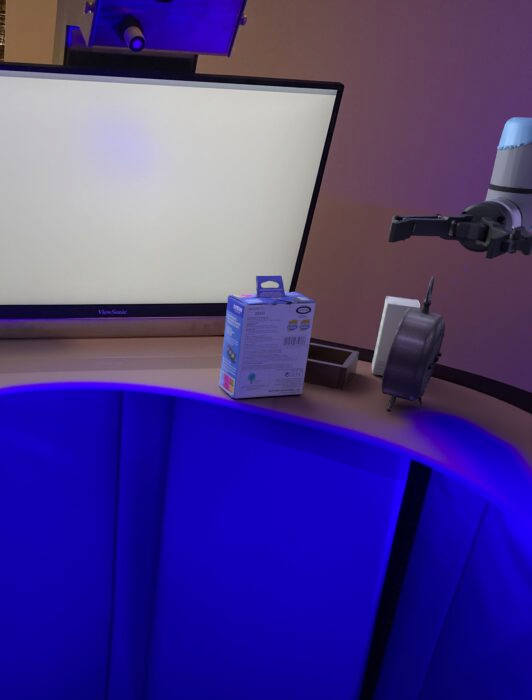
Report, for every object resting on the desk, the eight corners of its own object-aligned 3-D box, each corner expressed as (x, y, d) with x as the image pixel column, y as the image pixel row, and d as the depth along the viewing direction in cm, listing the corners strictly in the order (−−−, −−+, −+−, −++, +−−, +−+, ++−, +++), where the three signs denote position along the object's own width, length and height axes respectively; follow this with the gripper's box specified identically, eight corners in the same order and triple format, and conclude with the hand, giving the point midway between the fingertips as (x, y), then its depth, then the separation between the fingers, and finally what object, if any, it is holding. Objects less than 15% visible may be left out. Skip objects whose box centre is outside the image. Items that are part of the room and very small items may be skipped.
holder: (355, 372, 117) (359, 351, 116) (343, 389, 111) (347, 367, 109) (297, 360, 121) (300, 340, 119) (281, 377, 114) (284, 355, 113)
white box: (404, 379, 115) (420, 307, 111) (371, 375, 116) (385, 303, 112) (403, 368, 120) (419, 298, 116) (371, 363, 121) (385, 294, 117)
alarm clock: (392, 387, 112) (418, 265, 105) (434, 396, 110) (464, 272, 103) (372, 412, 104) (399, 281, 97) (418, 423, 101) (449, 289, 94)
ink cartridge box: (283, 380, 113) (300, 272, 107) (304, 395, 108) (323, 283, 102) (215, 384, 110) (228, 274, 104) (233, 400, 105) (249, 285, 99)
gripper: (567, 263, 127) (528, 284, 112) (404, 236, 142) (350, 252, 127) (582, 212, 124) (543, 226, 109) (414, 190, 138) (360, 200, 123)
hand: (440, 240), depth 118 cm, fingers open, 13 cm apart
